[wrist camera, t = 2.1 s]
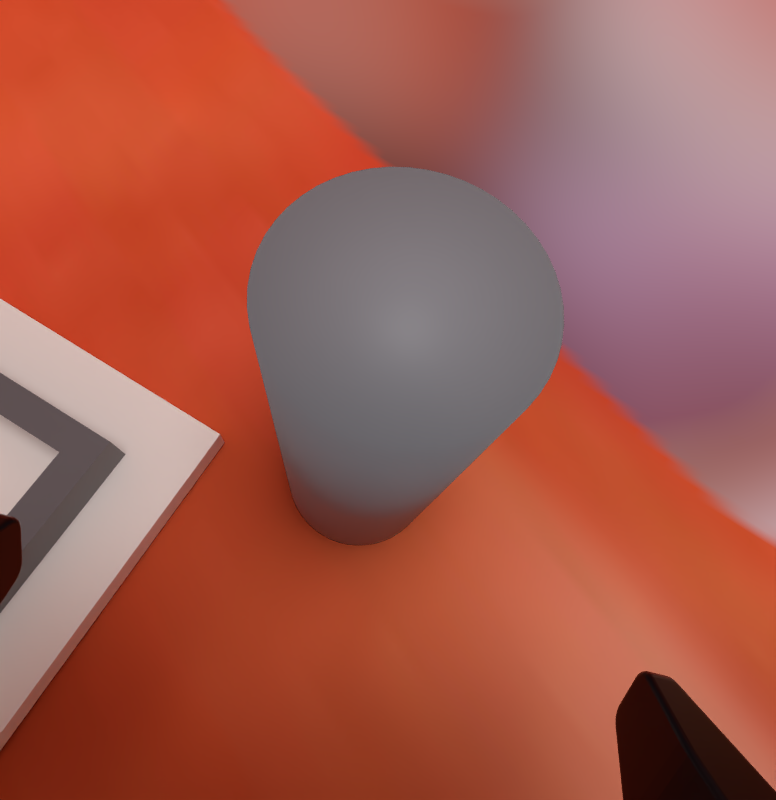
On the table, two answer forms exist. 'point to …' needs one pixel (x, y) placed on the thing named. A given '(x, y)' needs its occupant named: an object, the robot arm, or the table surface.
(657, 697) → the robot arm
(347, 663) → the table surface
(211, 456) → the seat board
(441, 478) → the slate post
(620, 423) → the table surface
